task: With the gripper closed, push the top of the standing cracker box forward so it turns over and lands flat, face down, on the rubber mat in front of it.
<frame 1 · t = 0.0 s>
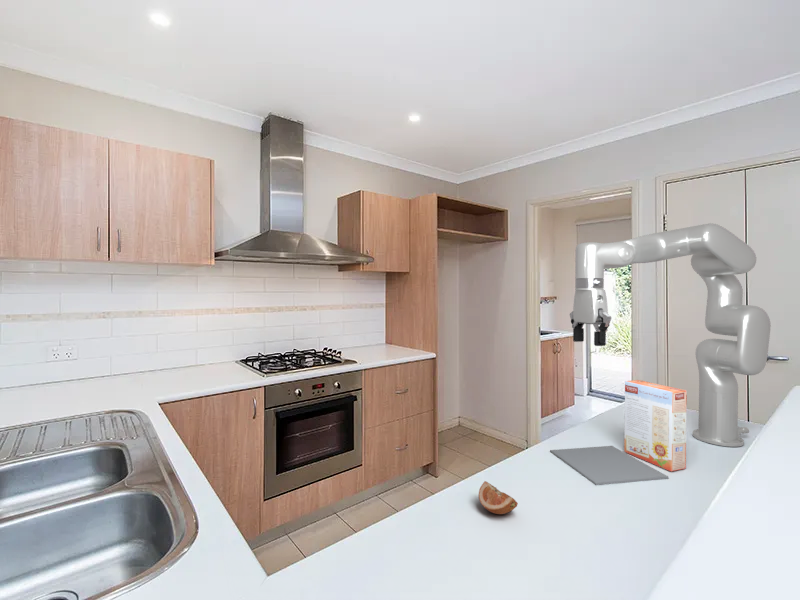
hand: (588, 343, 115), 31 cm above the countertop, fingers open, 9 cm apart
fruit slice: (497, 513, 82), on the countertop
cracker box: (653, 461, 108), on the countertop
mat: (604, 464, 106), on the countertop
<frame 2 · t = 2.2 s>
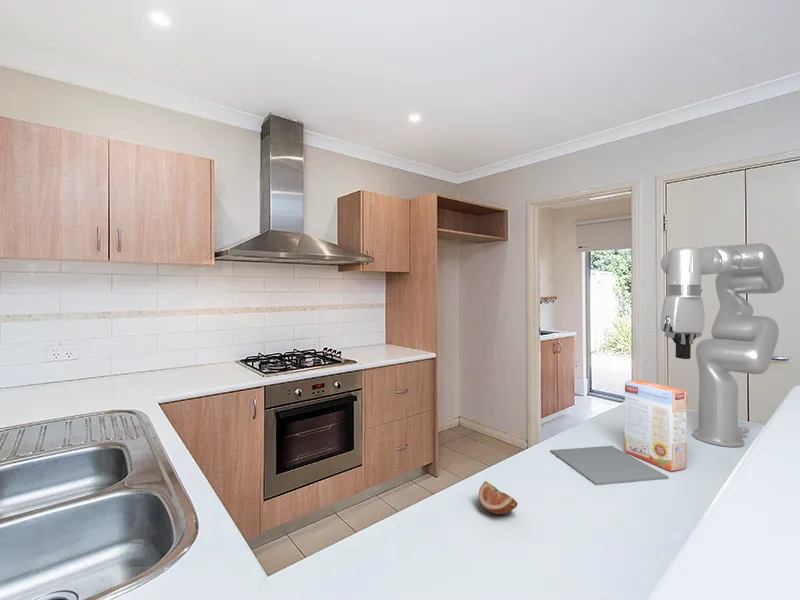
hand: (682, 358, 109), 28 cm above the countertop, fingers closed
nothing on the countertop moved.
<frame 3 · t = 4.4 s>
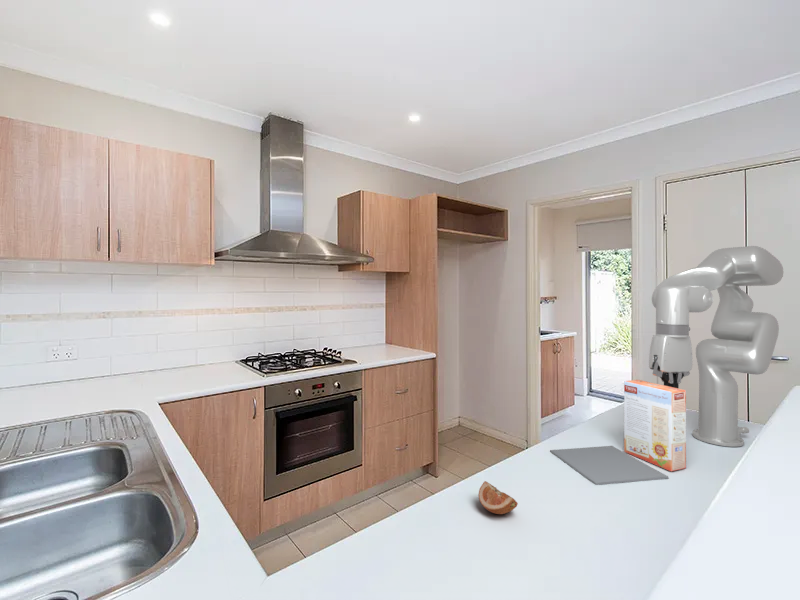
hand: (670, 396, 109), 17 cm above the countertop, fingers closed
cracker box: (653, 460, 108), on the countertop, touching gripper
everything else where it was.
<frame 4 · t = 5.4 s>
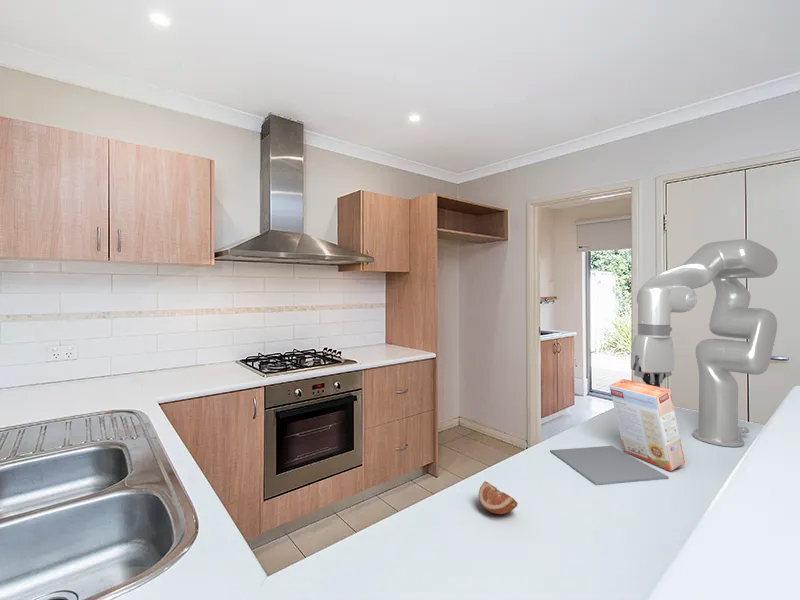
hand: (652, 397, 108), 17 cm above the countertop, fingers closed
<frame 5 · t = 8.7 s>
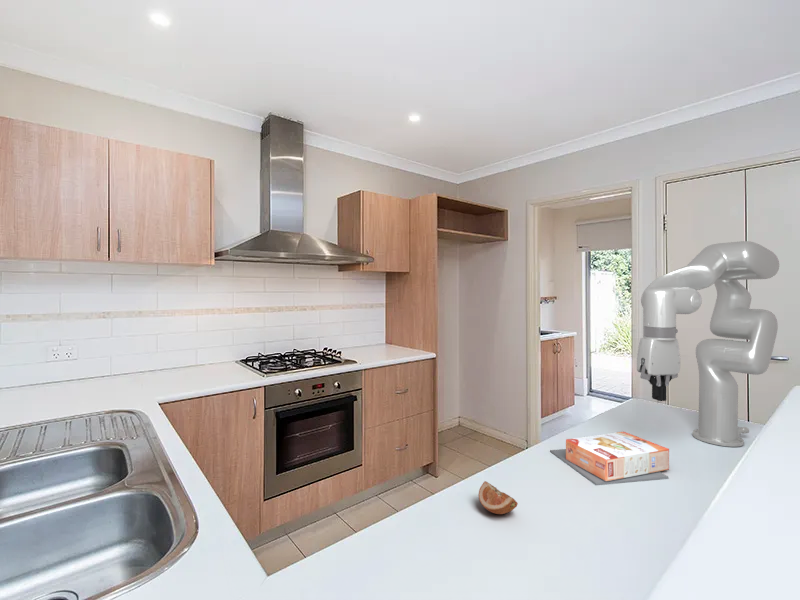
hand: (659, 399, 108), 17 cm above the countertop, fingers closed
cracker box: (645, 448, 107), point 4 cm above the countertop, touching mat
everything else where it was.
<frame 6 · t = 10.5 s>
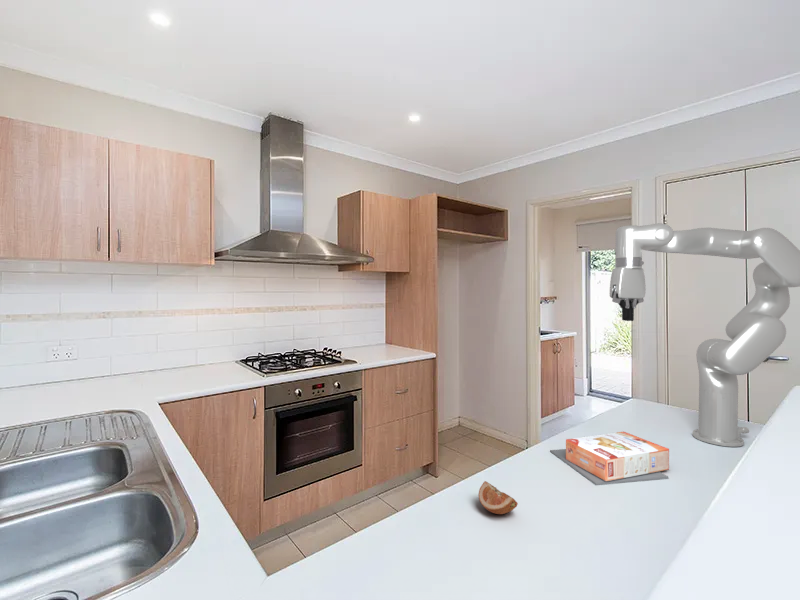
hand: (627, 320, 128), 37 cm above the countertop, fingers closed
nothing on the countertop moved.
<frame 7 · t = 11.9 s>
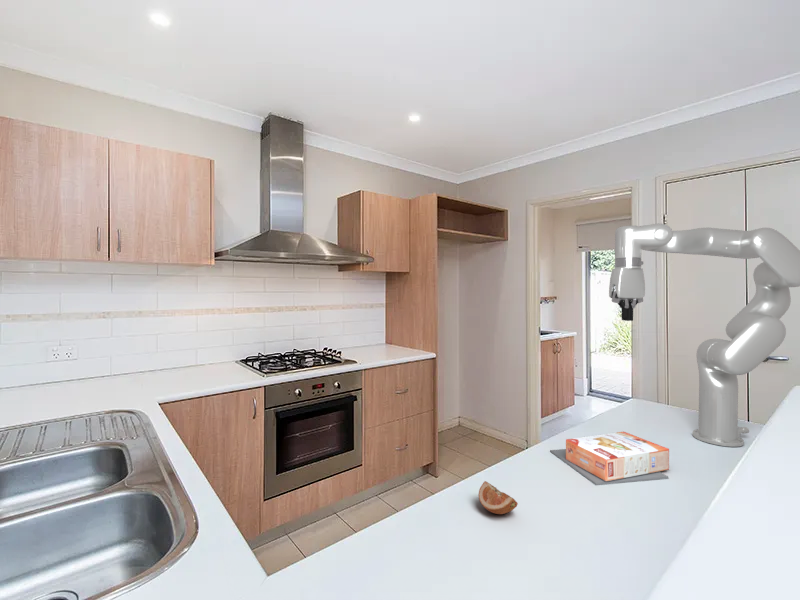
hand: (627, 320, 129), 37 cm above the countertop, fingers closed
nothing on the countertop moved.
at the end: cracker box tilted 91°; cracker box inside the target area (11.2 cm from its centre), point 3.6 cm above the countertop; the gripper is holding nothing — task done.
